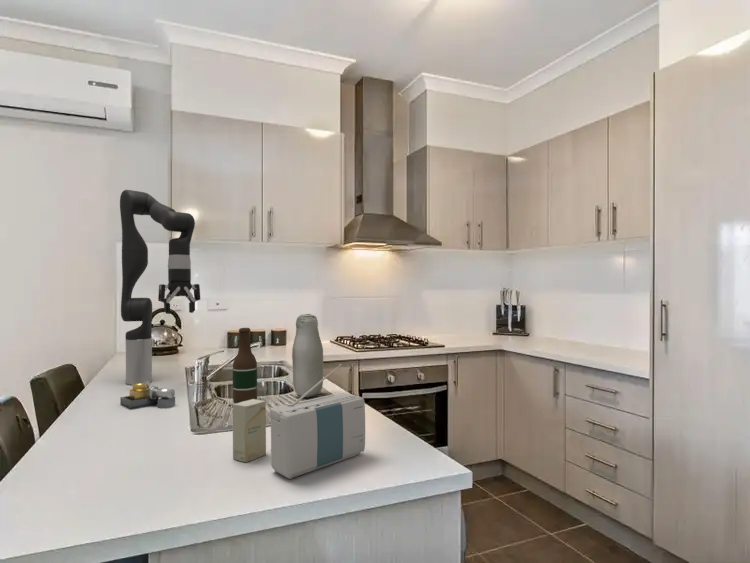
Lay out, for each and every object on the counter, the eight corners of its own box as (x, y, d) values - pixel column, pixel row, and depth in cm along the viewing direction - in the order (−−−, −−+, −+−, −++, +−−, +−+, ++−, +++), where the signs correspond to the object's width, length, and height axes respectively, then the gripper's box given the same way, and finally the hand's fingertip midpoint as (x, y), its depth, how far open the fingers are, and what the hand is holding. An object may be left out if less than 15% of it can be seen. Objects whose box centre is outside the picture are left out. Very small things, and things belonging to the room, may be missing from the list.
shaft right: (148, 407, 151) (148, 388, 151) (157, 403, 155) (157, 385, 155) (167, 408, 149) (167, 389, 149) (176, 404, 154) (176, 386, 154)
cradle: (120, 404, 154) (120, 397, 154) (148, 399, 160) (148, 392, 160) (130, 409, 148) (130, 401, 148) (158, 404, 155) (158, 396, 155)
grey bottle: (310, 391, 170) (309, 312, 170) (328, 396, 163) (328, 313, 163) (287, 396, 163) (286, 314, 163) (305, 401, 156) (304, 315, 156)
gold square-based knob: (135, 404, 151) (134, 385, 151) (129, 402, 154) (129, 383, 154) (149, 401, 155) (149, 383, 155) (144, 399, 158) (144, 381, 158)
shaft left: (149, 400, 160) (149, 382, 160) (135, 401, 159) (134, 383, 159) (153, 395, 167) (153, 378, 167) (139, 396, 165) (139, 379, 165)
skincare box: (246, 463, 103) (245, 406, 103) (231, 459, 106) (231, 404, 106) (267, 454, 109) (266, 400, 109) (253, 450, 111) (252, 398, 111)
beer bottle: (227, 403, 155) (227, 328, 155) (242, 397, 162) (242, 326, 162) (247, 405, 152) (247, 329, 152) (262, 399, 159) (261, 327, 159)
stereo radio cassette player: (289, 484, 93) (288, 380, 93) (266, 472, 99) (265, 374, 99) (367, 455, 108) (366, 366, 108) (343, 446, 113) (342, 362, 113)
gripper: (163, 267, 164) (164, 314, 164) (203, 268, 175) (203, 312, 175) (154, 268, 170) (155, 313, 170) (193, 268, 180) (194, 311, 180)
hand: (179, 313), depth 172 cm, fingers open, 8 cm apart
